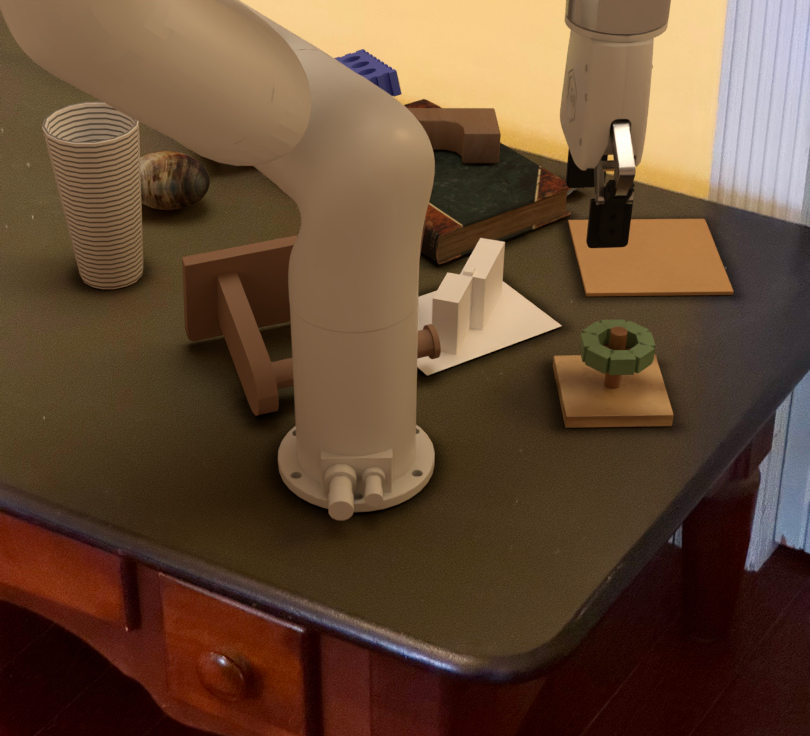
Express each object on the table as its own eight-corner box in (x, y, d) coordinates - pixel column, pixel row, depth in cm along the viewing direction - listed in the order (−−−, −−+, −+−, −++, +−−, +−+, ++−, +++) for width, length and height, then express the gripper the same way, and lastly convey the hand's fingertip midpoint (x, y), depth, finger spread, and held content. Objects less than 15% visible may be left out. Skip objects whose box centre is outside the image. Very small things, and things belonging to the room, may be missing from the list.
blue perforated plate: (323, 39, 170) (328, 61, 172) (144, 110, 162) (151, 132, 163) (439, 66, 151) (444, 90, 153) (243, 147, 143) (250, 172, 144)
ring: (657, 374, 119) (660, 358, 118) (585, 376, 119) (587, 359, 118) (645, 334, 124) (647, 318, 123) (575, 335, 124) (577, 319, 123)
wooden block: (492, 137, 153) (351, 137, 152) (494, 107, 151) (350, 107, 150) (499, 163, 148) (352, 164, 147) (501, 133, 146) (352, 133, 145)
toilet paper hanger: (226, 453, 123) (226, 381, 114) (185, 334, 129) (181, 257, 120) (460, 399, 128) (477, 327, 120) (410, 287, 134) (422, 211, 126)
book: (572, 217, 147) (425, 127, 162) (575, 184, 145) (426, 96, 160) (436, 267, 140) (295, 168, 155) (437, 234, 137) (294, 137, 152)
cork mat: (733, 294, 137) (733, 291, 136) (586, 296, 136) (586, 293, 136) (704, 221, 147) (704, 218, 147) (567, 223, 147) (568, 219, 146)
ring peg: (671, 426, 121) (682, 360, 117) (565, 428, 121) (572, 362, 116) (653, 365, 128) (663, 301, 123) (552, 366, 127) (558, 302, 123)
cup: (83, 248, 142) (60, 97, 132) (167, 255, 141) (150, 104, 131) (54, 293, 136) (28, 139, 125) (142, 301, 135) (122, 146, 125)
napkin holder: (489, 271, 139) (492, 217, 135) (563, 325, 132) (568, 270, 128) (358, 317, 133) (357, 262, 129) (428, 376, 126) (430, 320, 122)
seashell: (154, 198, 153) (107, 213, 146) (149, 142, 150) (100, 156, 144) (229, 204, 149) (184, 221, 142) (225, 148, 146) (178, 162, 140)
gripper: (548, -40, 111) (533, 166, 122) (587, 52, 98) (566, 273, 109) (644, -42, 111) (620, 163, 123) (696, 49, 98) (664, 269, 110)
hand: (595, 215), depth 116 cm, fingers open, 9 cm apart
